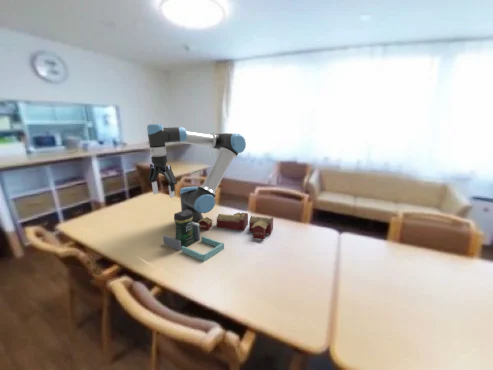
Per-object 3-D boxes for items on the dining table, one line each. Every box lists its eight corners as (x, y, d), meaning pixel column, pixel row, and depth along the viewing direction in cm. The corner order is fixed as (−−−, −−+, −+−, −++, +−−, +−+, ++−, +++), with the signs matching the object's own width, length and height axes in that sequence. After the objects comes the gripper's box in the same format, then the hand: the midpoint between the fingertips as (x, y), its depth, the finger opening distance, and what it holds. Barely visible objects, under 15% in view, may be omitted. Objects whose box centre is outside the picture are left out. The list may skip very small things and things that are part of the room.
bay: (184, 234, 140) (183, 218, 137) (200, 240, 132) (199, 223, 130) (163, 244, 128) (162, 227, 126) (179, 250, 121) (178, 233, 119)
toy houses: (273, 226, 151) (274, 211, 148) (267, 241, 132) (268, 224, 129) (208, 220, 162) (208, 206, 160) (194, 232, 143) (193, 216, 141)
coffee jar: (183, 249, 123) (181, 215, 118) (173, 245, 127) (170, 212, 123) (197, 241, 131) (195, 209, 126) (186, 238, 135) (184, 207, 131)
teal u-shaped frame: (202, 240, 132) (202, 235, 131) (224, 248, 123) (223, 243, 122) (181, 251, 120) (181, 246, 119) (204, 261, 111) (203, 255, 110)
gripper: (137, 155, 124) (143, 194, 129) (169, 157, 111) (174, 200, 116) (150, 153, 130) (155, 190, 135) (181, 155, 117) (185, 196, 122)
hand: (163, 195), depth 126 cm, fingers open, 13 cm apart
